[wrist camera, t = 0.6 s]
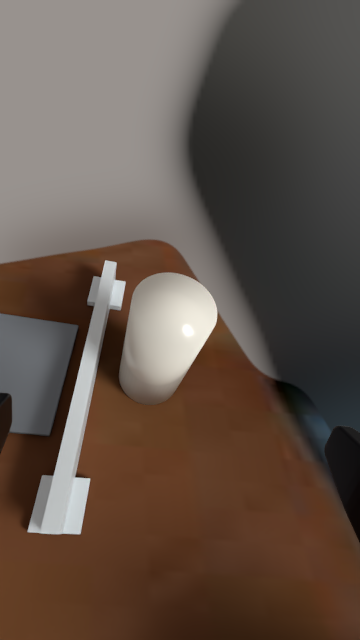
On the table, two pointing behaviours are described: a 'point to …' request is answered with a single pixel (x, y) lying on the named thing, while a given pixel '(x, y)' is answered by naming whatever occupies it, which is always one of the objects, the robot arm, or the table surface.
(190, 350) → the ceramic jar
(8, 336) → the slate mat
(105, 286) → the light grey long bar
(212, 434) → the table surface
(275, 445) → the table surface
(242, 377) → the table surface
